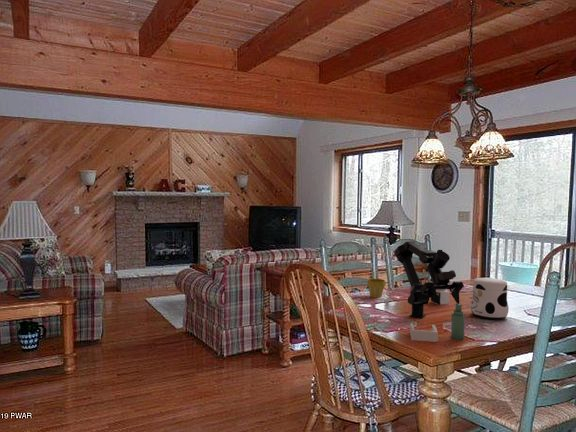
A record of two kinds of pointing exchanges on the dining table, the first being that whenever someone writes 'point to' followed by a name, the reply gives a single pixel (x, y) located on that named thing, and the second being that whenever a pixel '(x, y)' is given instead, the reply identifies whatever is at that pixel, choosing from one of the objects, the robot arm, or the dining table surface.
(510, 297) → the dining table surface
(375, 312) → the dining table surface
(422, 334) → the u rest
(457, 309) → the glass bottle
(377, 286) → the plant pot
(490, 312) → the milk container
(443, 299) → the medicine bottle
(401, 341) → the dining table surface
